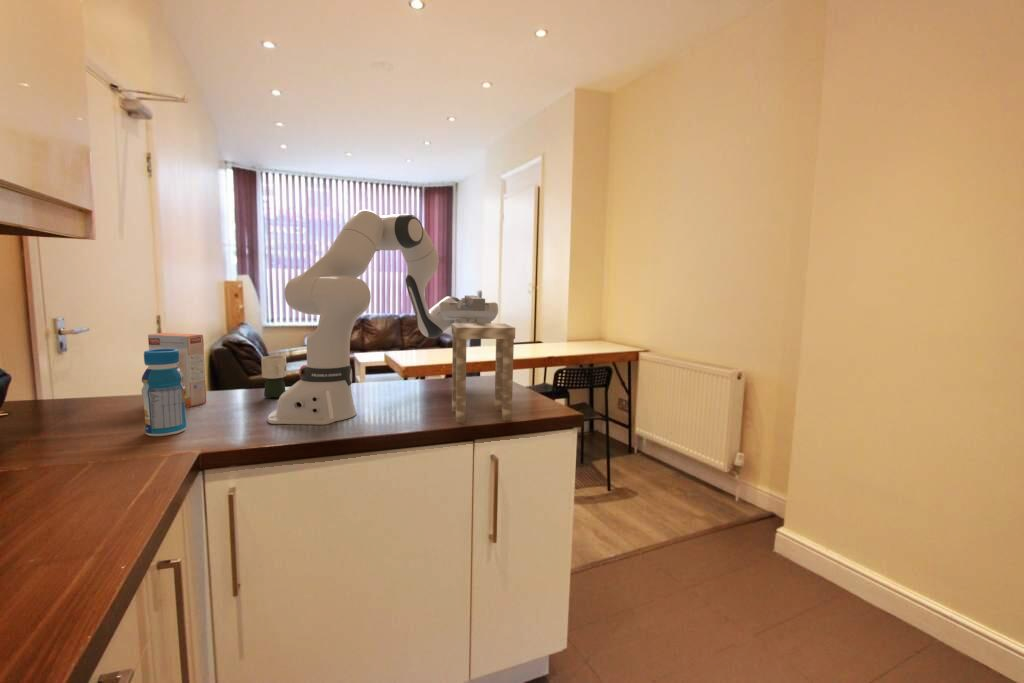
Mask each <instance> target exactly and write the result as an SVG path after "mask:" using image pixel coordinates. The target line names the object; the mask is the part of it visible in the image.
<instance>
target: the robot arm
mask: <svg viewBox="0 0 1024 683" xmlns="http://www.w3.org/2000/svg"><path fill="white" fill-rule="evenodd" d="M399 250H400V251H401V253H402V257H403V258H404V260H405V263H406V269H407V272H406V273H407V274H406V277H405V285H406V289H407V293H408V296H409V299H410V302H411V305H412V308H413V311H414V314H415V318H416V323H417V324H416V325H417V328H418V329H419V331H420V333H421V334H422V335H423V336H424V337H425V338H427V339H438V338H439V337H440V336H441V335H442V334H443V333H444V332H445V331H446V330H447V329H448V328H451V329H452V323H483V324H492V321H494V320H495V319H496V318H497V316H498V314H499V305H498V303H496V302H493V301H492V302H491V301H490V302H487V301H485V311H473V310H471V309H469V308H468V307H466V306H465V305H466V298H465V297H461V298H460V299H459V298H458V297H455V296H452V295H447V296H445V297H443V298H442V299H441V300H439V301H438V302H437V303H436V304H435V305H433V306H432V307H431V308H429V307H428V303H427V301H426V297H425V291H426V288H427V286H428V284H429V283H430V280H431V279H432V278H433V277H434V275H435V274H436V272H437V270H438V268H439V264H440V258H439V254H438V251H437V249H436V247H435V245H434V244H433V241H432V239H431V237H430V235H429V234H428V232H427V230H426V229H425V228H424V227H423V224H422V222H421V221H420V219H418V217H416V215H413V214H410V213H399V214H383V215H378V213H376V212H374V211H372V210H370V209H361V210H358V211H357V212H355V213H354V214H353V215H352V216H351V217H350V218H349V220H348V221H347V222H346V223H345V224H344V226H342V228H341V230H340V232H339V233H338V235H337V237H336V239H335V240H334V241H333V243H331V246H330V247H329V249H328V250H327V252H326V253H325V254H324V255H323V256H322V257H321V258H319V260H317V261H316V262H315V263H314V264H313V265H312V266H310V267H309V268H308V269H307V270H306V271H304V272H302V273H301V274H299V275H297V276H295V277H292V278H291V279H290V280H289V281H288V282H287V283H286V285H285V288H284V299H285V301H286V304H287V305H288V306H289V307H290V308H291V309H292V310H294V311H297V312H299V313H302V314H306V315H315V316H319V321H318V324H317V327H316V328H315V330H314V331H312V332H311V333H309V335H308V336H307V338H306V364H303V365H302V366H300V367H299V370H298V376H299V378H298V379H299V380H298V381H296V382H295V383H294V384H292V385H291V386H290V387H288V388H287V389H285V390H286V391H285V392H284V393H283V394H282V395H281V396H280V397H278V400H277V405H276V406H277V407H276V409H275V410H273V411H272V412H270V413H269V414H268V415H267V422H268V423H269V424H270V425H271V424H273V425H274V424H275V425H277V424H279V425H280V424H282V425H321V426H322V425H329V424H332V423H334V422H339V421H343V420H347V419H350V418H352V417H355V416H356V415H357V409H356V408H355V407H356V406H355V402H354V399H353V398H354V397H353V392H352V382H353V369H352V365H351V364H350V363H351V362H350V361H351V360H350V359H351V358H350V356H351V353H350V350H351V335H352V331H353V330H354V326H355V324H356V322H357V320H358V319H359V318H360V316H361V315H362V314H364V313H365V312H366V311H367V309H368V308H369V306H370V303H371V290H370V288H369V285H368V284H367V283H366V282H365V281H364V280H362V279H360V278H359V277H361V276H362V275H364V273H365V271H366V270H367V268H368V266H369V264H370V263H371V261H372V259H373V257H374V256H375V254H376V252H379V251H392V252H393V251H399ZM451 335H452V337H453V334H452V333H451ZM470 341H471V339H466V343H467V342H470Z"/></svg>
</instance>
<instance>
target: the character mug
mask: <svg viewBox="0 0 1024 683" xmlns="http://www.w3.org/2000/svg"><path fill="white" fill-rule="evenodd" d="M260 362H261V377H262V378H264V379H266V380H265V383H264V393H263V397H264V398H275V399H279V398H280V396H281V395H282V394H283V393H284V392H285V391H286V390H287V389H286V384H285V381H284V379H283V378H284V377H286V376H287V374H288V371H287V363H288V362H287V357H286V356H285V355H267V356H263V357H261V361H260Z"/></svg>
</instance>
